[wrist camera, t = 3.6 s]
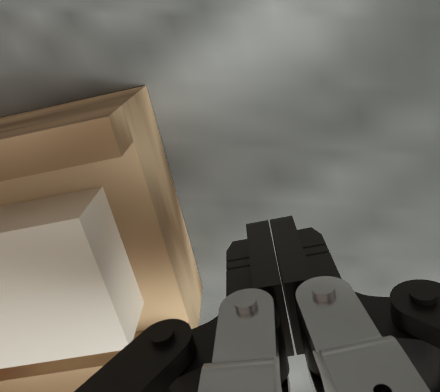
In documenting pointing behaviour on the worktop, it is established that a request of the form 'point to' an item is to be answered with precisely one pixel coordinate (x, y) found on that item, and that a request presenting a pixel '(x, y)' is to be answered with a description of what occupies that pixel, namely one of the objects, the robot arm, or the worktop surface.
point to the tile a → (64, 280)
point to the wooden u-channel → (118, 201)
